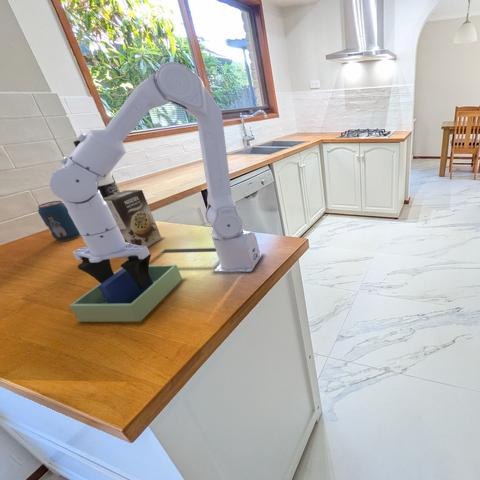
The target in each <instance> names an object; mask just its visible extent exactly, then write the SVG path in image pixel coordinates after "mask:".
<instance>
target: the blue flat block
mask: <svg viewBox="0 0 480 480" xmlns="http://www.w3.org/2000/svg"><path fill="white" fill-rule="evenodd" d="M121 268H122V267H121ZM121 268H120V269H121ZM117 271H118V270H117ZM149 281H150V284H149V285H148V286H147V287H146V288H144V289H140V288H139V287H138V286H137V284H136V282H135V281H134V279H133V277H132V276H131V275H130V274H129V273H128V272H127V271H126V270H125V269H123V268H122V269H121V270H120V271H118V272H117V273H116V274H114V275H113V276H111V277H110V278H109V279H107V280H106V281H104V282H103V283H102V284H100V283H99V284H100V285H99V286H98V287H99V289H100V291H101V292H102V294H103V296H104V298H105V299H106V301H107V303H108V304H128V303H132V302H133V301H134V300H136V299H137V298H138V297H139V296H140V295H141V294H142V293H143V292H144V291H146V290H147V289H148V288H149V287H150V286H151V285H152V284H153V282H152V280H151V277H150V275H149Z"/></svg>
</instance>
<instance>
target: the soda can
mask: <svg viewBox="0 0 480 480" xmlns="http://www.w3.org/2000/svg"><path fill="white" fill-rule="evenodd" d="M37 208H38V210H37V211H38V212H37V213H38V215H39V216H40V217H41V219H42V221H43V223H44V224H45V226H46V228H47V229H48V232H50V234H51V236H52V238H53V239H55V240H57V241H59V242H66V241H71V240H73V239H76V238H78V237H79V236H81V235H80V233H79V231H78V229H77V228H76V226H75V224H74V222H73V220H72V218H71V217H70V215H69V213H68V209H67V208H66V206H65V205H64V202H63V200H53V201H48V202H44V203H41V204H39V205H38V206H37Z"/></svg>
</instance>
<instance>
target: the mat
mask: <svg viewBox="0 0 480 480" xmlns="http://www.w3.org/2000/svg"><path fill="white" fill-rule="evenodd" d="M211 252H212V253H214V252H216V249H215V247H212V248H176V249H175V248H174V249H172V248H171V249H164V250H163V251H161V252H160V253H161V254H171V253H172V254H173V253H175V254H176V253H178V254H179V253H211ZM216 253H217V252H216Z"/></svg>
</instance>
